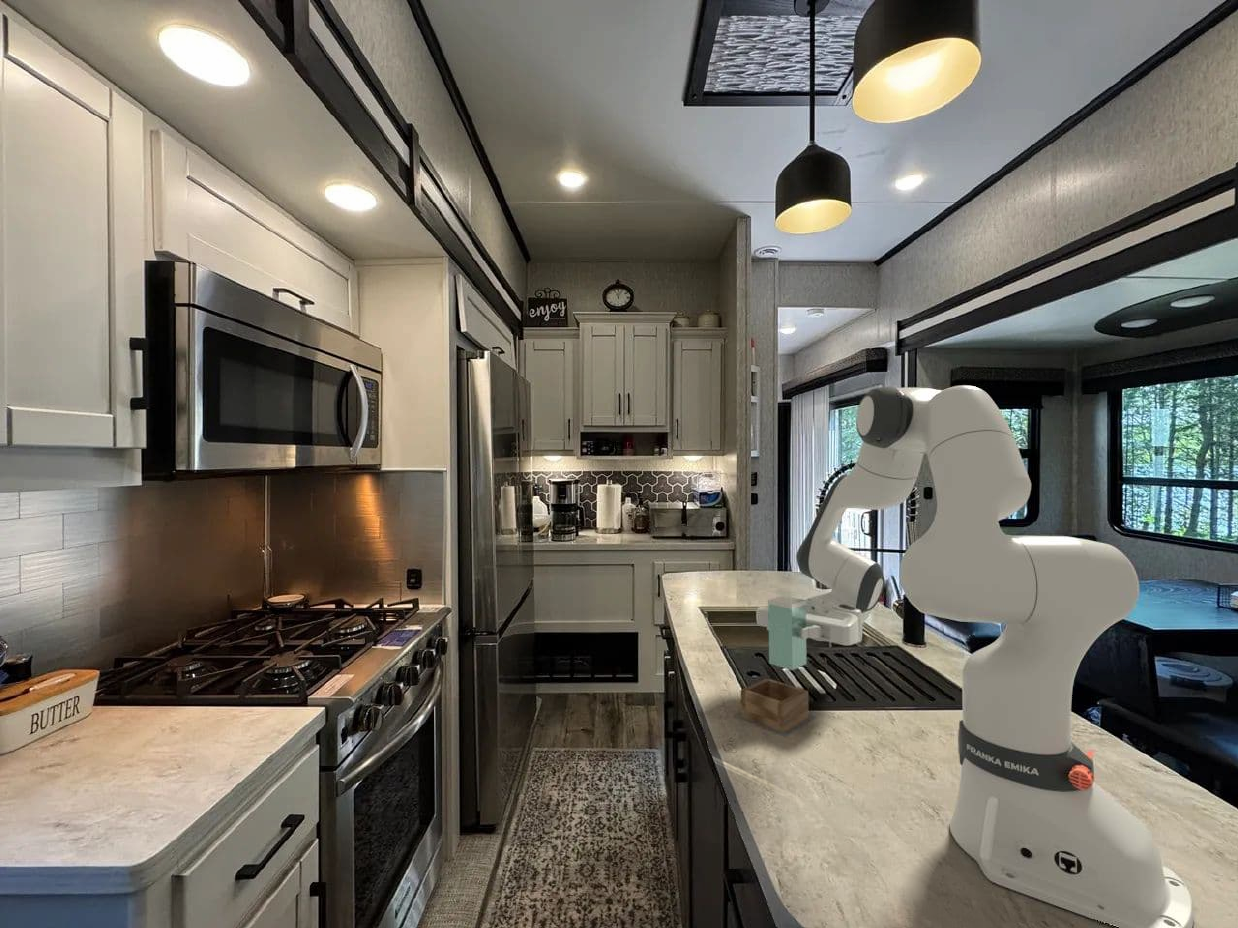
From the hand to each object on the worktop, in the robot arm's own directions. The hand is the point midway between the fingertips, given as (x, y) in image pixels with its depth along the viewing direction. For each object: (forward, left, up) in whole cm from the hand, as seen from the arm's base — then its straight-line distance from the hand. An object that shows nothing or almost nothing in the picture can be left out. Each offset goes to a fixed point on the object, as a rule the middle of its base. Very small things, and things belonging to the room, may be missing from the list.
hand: (784, 630), depth 105 cm
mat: (+1, +2, -17) cm, 17 cm away
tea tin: (0, -1, -7) cm, 7 cm away
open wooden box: (+1, +2, -16) cm, 16 cm away
